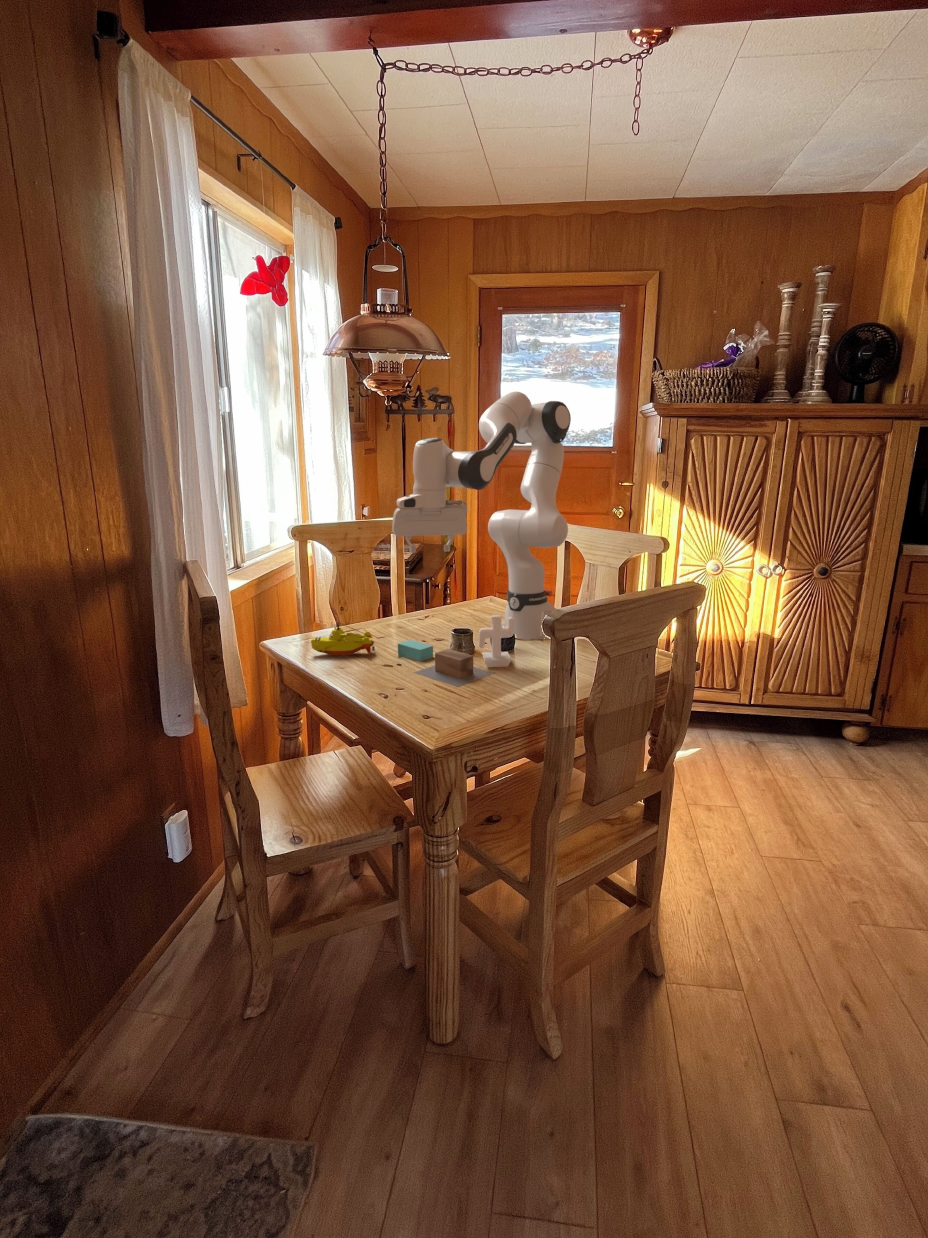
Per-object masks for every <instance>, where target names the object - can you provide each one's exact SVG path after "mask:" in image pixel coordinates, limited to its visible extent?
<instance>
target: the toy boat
mask: <svg viewBox="0 0 928 1238" xmlns="http://www.w3.org/2000/svg"><path fill="white" fill-rule="evenodd" d="M339 624H340V625H342V626H344V627H347V628H350V629H351V630H354V631H356V632H359V633H361V634H359V633H355V632H353V633H352V632H347V631H346V630H344V629H343V628H341V627H340V625H339ZM362 634H363V635H362ZM373 638H374V637H373V635H372V634H371V632H370V631H369V630H367V631H365V633H364V632H362V631H360V630H358V629H355V628H353V627H350V626H348V625H346V624H344V623H342V622H339V621H337V626H336V624H335V623H334V629H332V630H331V632H330V634H329V636H328V637H326V636H324V637H323V636H322V637H321V636H319V637H317V636H316V637H314V638H311V640H310V644H311V649H312V650H314V651H316V652H318V653H322V654H326V655H329V656H334V657H335V656H347V655H349V656H351V655H354V654H355V653H357V652H360V651H362V650H366V652H367V654H369V655H371V654H372V653H371V650H372V652H375V650H376V649H375V645H374V644H375V640H373Z"/></svg>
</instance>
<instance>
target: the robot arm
mask: <svg viewBox="0 0 928 1238" xmlns="http://www.w3.org/2000/svg"><path fill="white" fill-rule="evenodd" d="M571 420H572V419H571V413H570V410H569V408H568V407H567V405H566V404H565V403H564V402H562V401H558V400H549V401H548V402H541V403H540V402H539V403H534V404H532V401H531V400H530V398H529V397H528V396H527V395H526V394H525V393H523V392H521V391H511V392H510V393H509V392H508V393H507V394H505V395H503V396H502V397H500V398H499V399H497V400H496V401H495V402H494V403H493V404H491V405H490V406H488V408H487V409H486V410H485V411H484V412H483V413H482V414H481V416H480V418H479V422H478V430H479V433H480V435H481V438H483V440H484V442H485V443H487V444H486V445H485V447H483V449H480V450H474V451H473V450H472V451H461V450H460V451H455V450H454V449H452V448H450V447H449V446H448V445H446V443H445V441H444V439H443V438H440V437H430V438H429V437H428V438H423V439H420V440H418V441H417V442H416V443H415V445H414V448H413V449H414V450H413V457H412V475H413V477H414V483H413V487H412V490H413V491H412V493H411V494H409V495H405V496H402V497H400V498H399V497H398V498H397V500H396V506H397V507H396V508H395V509H394V511H393V516H392V521H391V523H392V524H391V527H392V528H391V531H392V533H393V534H394V536H396V537H402V536H403V537H404V539H405V541H406V542H407V544H408V546H409V553H416V552H417V550H416V548H417V546H416V544H412V542H411V541H410V540H412V536H413V537H414V536H416V537H417V536H447V538H448V539H447V540H448V541H447V543H446V544H443V552H445V553H446V552H450V551H451V545H452V544H453V541H454V539H455V536H458V535H459V536H462V535H465V534H466V533H467V532H468V524H467V522H468V521H467V514H468V504H467V503H466V502H464V501H463V500H461V499H460V500H459V499H457V500H453V499H452V500H451V499H448V500H447V487H449V488H458V489H459V488H464V489H469V490H477V491H481V490H484V489H485V488H487V486H489V485H490V483H491V482H492V480H493V478H494V476H495V474H496V471H497V469H498V468H499V467H500V465H501V463H502V462H503V460H504V459H505V458H506V457H507V455H508V454H509V452H510V451H511V450H512V448H513V447H514V445H515V444H517V445H525V444H529V443H531V453H530V454H529V457H528V460H527V463H526V466H525V470H524V473H523V475H522V476H523V477H522V481H521V485H520V493H521V495H522V497H523V498H524V499H525V500H526V501H528V502H529V503H531V504H530V506H531V507H530V508H529V509H503V510H498V511H495V512H493V514H492V515H491V516H490V518H489V520H488V523H487V531H488V534H489V537H490V539H491V540H492V541H493V542H495V543H496V545H497V546H498V547H499V549H500V550H501V551H502V554H503V555H504V558H505V561H506V564H507V572H508V574H507V575H508V576H507V577H508V589H507V592H506V593H507V594H506V599H507V600H506V601H507V604H506V606H505V612H504V623H503V625H501V627H507V626H508V618H509V617H513V618H514V633H515V634H516V636H517V639H518V640H550V639H549V638H547V637H545V635H544V634H543V632H542V628H541V625H542V621H543V619H544V617H545V615H547V614H550V613H551V612H552V611H553V610H555V609H557V608H556V607H555V606H554V605H553V604H551V602H550V601H548V597H552V596H553V590H552V589H547V588H546V589H545V566H544V565H543V563H542V561H540V560H539V559H538V558H536V557H535V556H534V555H533V553H532V552H531V550H530V547H531V548H541V549H550V548H554V547H555V548H556V547H560V546H562V545H563V543H564V542H565V541H566V539H567V537H568V533H569V526H568V522H567V520H566V518H565V517H564V515H562V513H561V512H560V511H559V509H558V506H557V502H556V501H557V500H556V497H557V491H558V486H559V482H560V478H561V475H562V471H563V466H564V458H565V457H564V456H565V448H564V445H563V444H562V442H563V441H564V440H565V439H566V437H567V433H568V431H569V429H570V425H571V422H572V421H571ZM544 638H545V639H544Z"/></svg>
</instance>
